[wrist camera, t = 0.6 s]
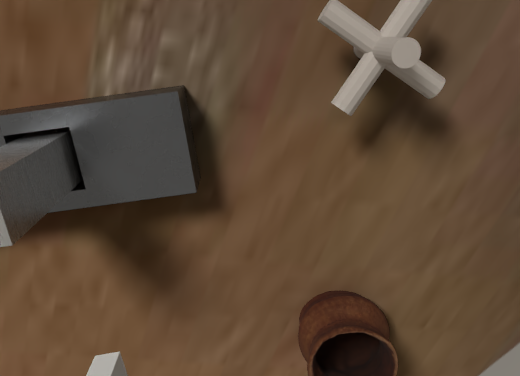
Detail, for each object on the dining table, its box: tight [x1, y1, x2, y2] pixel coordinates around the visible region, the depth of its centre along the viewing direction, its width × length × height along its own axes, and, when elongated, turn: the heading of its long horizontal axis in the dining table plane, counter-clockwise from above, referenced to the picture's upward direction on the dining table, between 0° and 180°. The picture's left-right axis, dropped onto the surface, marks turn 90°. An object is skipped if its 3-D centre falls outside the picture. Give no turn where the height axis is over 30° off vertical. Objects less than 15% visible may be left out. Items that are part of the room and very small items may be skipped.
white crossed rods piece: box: [318, 0, 445, 116], centre depth 33 cm, size 10×10×10 cm
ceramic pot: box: [298, 291, 398, 376], centre depth 43 cm, size 18×18×7 cm
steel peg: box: [0, 127, 83, 247], centre depth 32 cm, size 4×4×15 cm
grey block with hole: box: [0, 85, 201, 213], centre depth 38 cm, size 8×22×4 cm, turn 97°
